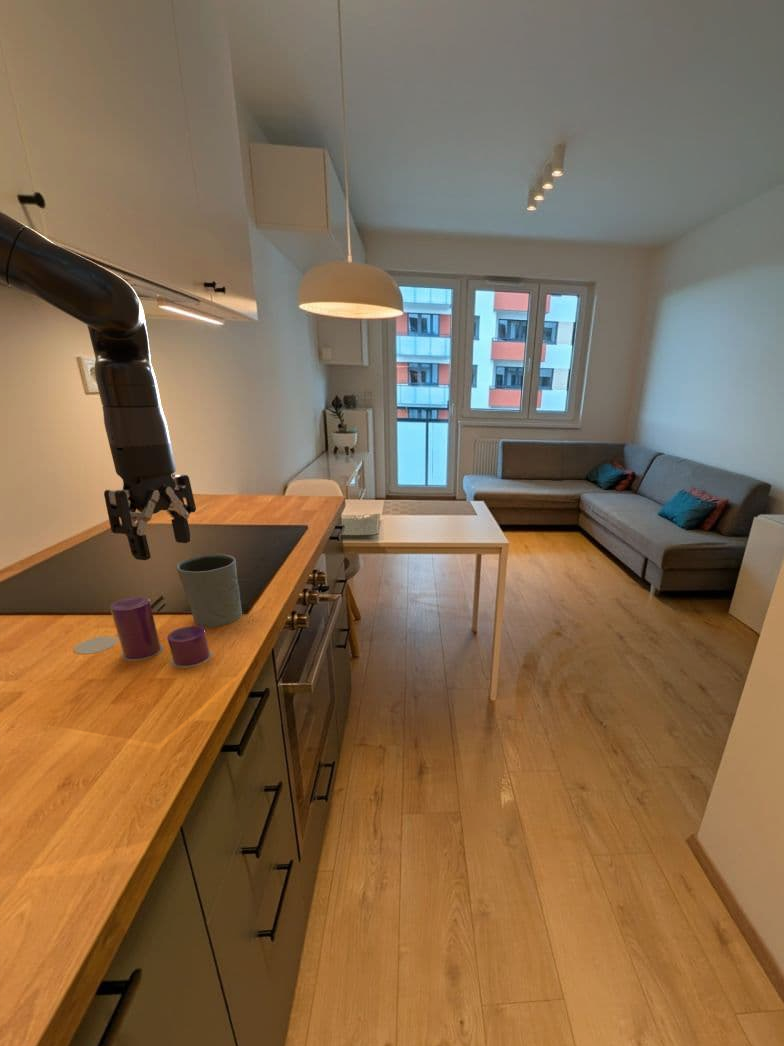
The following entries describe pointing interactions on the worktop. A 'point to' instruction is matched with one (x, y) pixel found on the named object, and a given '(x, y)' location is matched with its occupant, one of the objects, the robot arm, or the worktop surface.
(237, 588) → the grey cylindrical pot
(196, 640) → the purple canister
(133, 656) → the small purple cup
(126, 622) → the purple cylinder
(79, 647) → the mat
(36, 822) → the worktop surface
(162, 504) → the robot arm
